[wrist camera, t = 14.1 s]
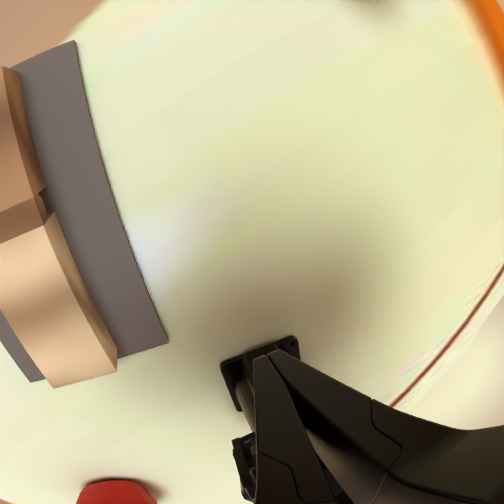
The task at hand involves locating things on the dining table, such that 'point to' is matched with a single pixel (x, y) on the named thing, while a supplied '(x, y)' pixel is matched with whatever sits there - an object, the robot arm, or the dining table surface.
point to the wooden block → (17, 163)
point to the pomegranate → (115, 493)
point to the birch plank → (53, 307)
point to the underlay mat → (82, 206)
